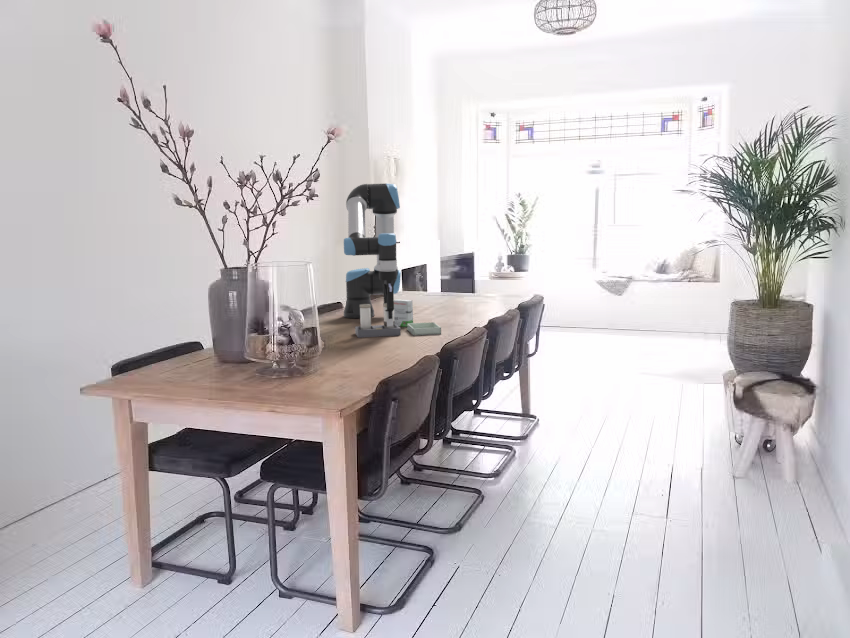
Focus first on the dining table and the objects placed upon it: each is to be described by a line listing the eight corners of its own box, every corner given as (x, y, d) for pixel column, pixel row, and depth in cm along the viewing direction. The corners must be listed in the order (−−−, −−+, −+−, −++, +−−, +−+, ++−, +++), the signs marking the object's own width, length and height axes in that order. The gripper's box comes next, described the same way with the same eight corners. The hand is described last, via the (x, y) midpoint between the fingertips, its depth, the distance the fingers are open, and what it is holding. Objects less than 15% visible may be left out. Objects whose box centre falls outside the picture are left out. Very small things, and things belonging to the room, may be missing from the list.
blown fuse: (383, 333, 302) (382, 303, 300) (393, 332, 303) (393, 302, 301) (384, 334, 297) (384, 304, 295) (395, 334, 298) (394, 303, 296)
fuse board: (355, 333, 302) (355, 326, 302) (396, 331, 306) (396, 323, 305) (357, 337, 293) (357, 330, 292) (400, 335, 296) (400, 327, 296)
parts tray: (407, 329, 309) (407, 323, 308) (434, 328, 311) (433, 322, 311) (413, 335, 295) (413, 328, 295) (441, 333, 298) (441, 327, 297)
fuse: (359, 334, 300) (359, 304, 298) (370, 333, 301) (369, 303, 299) (361, 336, 295) (360, 305, 293) (372, 335, 296) (371, 305, 294)
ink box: (413, 325, 319) (413, 299, 317) (408, 327, 315) (407, 301, 313) (397, 324, 324) (397, 298, 322) (391, 326, 319) (391, 300, 317)
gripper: (376, 268, 304) (377, 322, 307) (382, 272, 287) (383, 329, 290) (393, 268, 305) (394, 321, 309) (400, 271, 288) (401, 328, 292)
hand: (389, 325), depth 300 cm, fingers closed on blown fuse, 4 cm apart
